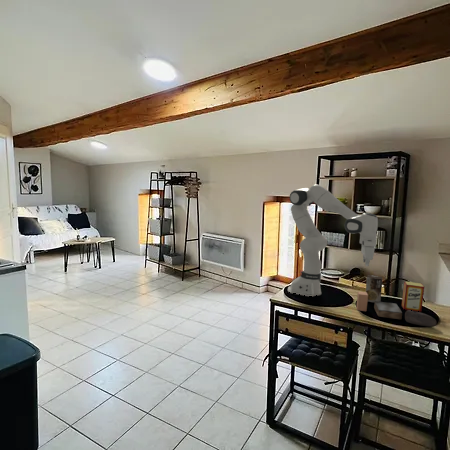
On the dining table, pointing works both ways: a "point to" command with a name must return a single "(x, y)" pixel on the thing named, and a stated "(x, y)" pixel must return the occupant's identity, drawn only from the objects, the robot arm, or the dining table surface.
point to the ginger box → (413, 296)
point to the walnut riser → (387, 310)
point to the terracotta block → (362, 301)
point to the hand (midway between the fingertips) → (365, 264)
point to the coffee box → (374, 288)
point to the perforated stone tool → (419, 318)
